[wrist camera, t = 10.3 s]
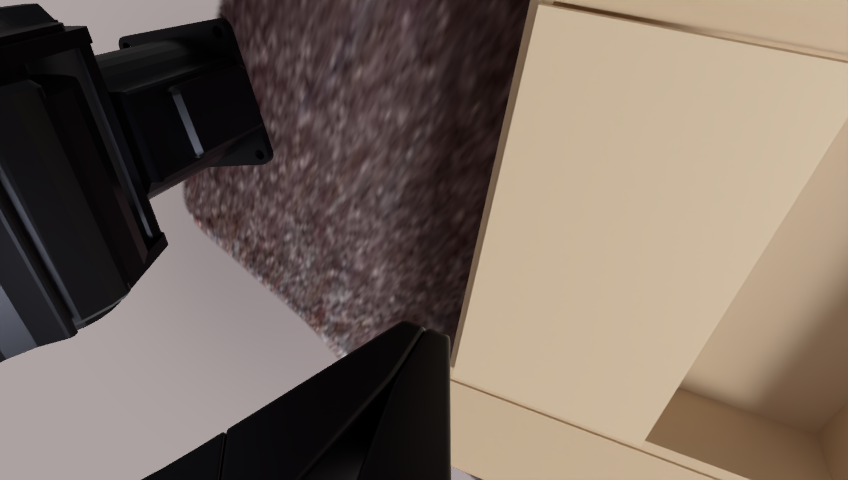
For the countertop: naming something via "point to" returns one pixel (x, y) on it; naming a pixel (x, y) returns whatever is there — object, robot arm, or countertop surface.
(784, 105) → the carton
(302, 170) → the countertop surface
